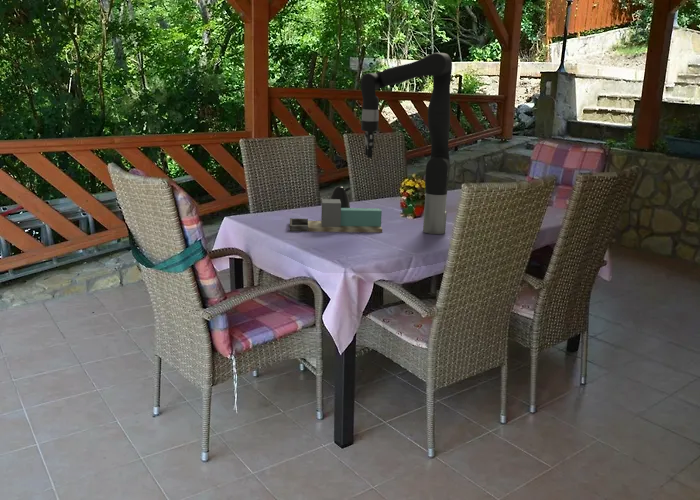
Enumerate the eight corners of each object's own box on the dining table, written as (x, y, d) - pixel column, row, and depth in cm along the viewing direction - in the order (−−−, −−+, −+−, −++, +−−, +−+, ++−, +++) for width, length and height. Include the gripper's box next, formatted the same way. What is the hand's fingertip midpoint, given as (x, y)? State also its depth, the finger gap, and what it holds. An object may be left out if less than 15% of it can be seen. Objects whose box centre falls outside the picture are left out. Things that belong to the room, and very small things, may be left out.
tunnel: (339, 222, 282) (339, 199, 279) (340, 227, 274) (341, 203, 271) (321, 222, 282) (321, 199, 279) (322, 226, 274) (322, 203, 271)
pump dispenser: (353, 219, 295) (354, 187, 291) (332, 220, 291) (333, 188, 287) (345, 214, 304) (346, 183, 300) (325, 216, 301) (325, 184, 296)
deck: (378, 224, 287) (378, 219, 286) (382, 232, 274) (382, 227, 273) (289, 223, 283) (289, 218, 283) (289, 231, 270) (289, 225, 269)
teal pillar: (379, 223, 282) (380, 208, 280) (380, 226, 277) (381, 210, 275) (339, 223, 281) (339, 207, 279) (340, 225, 276) (340, 210, 274)
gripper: (380, 121, 273) (378, 158, 277) (376, 118, 287) (374, 154, 291) (363, 120, 272) (361, 158, 277) (360, 118, 286) (358, 154, 290)
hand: (368, 156), depth 284 cm, fingers open, 8 cm apart
